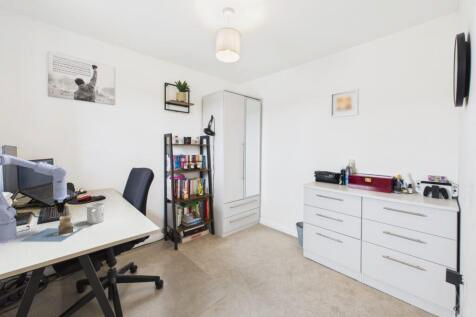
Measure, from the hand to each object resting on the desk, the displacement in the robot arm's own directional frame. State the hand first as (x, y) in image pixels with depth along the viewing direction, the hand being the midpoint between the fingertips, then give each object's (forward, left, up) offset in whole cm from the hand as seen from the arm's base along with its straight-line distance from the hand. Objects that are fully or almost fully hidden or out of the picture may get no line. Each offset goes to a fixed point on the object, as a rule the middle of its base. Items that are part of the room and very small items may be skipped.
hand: (60, 212), depth 116 cm
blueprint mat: (+1, -7, -10) cm, 12 cm away
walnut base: (+5, -4, -10) cm, 12 cm away
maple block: (+5, -4, -6) cm, 9 cm away
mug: (+12, +10, -11) cm, 19 cm away
